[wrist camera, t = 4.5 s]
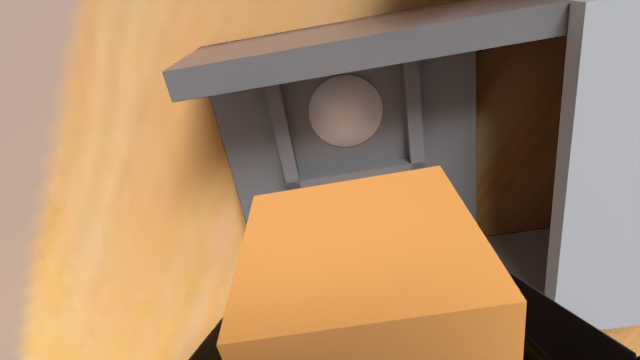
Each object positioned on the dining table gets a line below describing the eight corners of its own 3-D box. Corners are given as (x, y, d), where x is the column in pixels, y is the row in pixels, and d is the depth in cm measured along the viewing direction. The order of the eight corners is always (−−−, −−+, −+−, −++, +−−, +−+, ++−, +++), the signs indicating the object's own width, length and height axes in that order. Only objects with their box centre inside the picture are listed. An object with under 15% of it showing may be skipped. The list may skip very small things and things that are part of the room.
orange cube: (447, 306, 11) (514, 478, 7) (291, 328, 11) (281, 506, 7) (440, 165, 9) (527, 301, 5) (253, 195, 9) (216, 345, 6)
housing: (715, 220, 22) (819, 284, 17) (267, 282, 23) (256, 356, 19) (797, -60, 16) (981, -73, 12) (201, 46, 18) (162, 71, 13)
